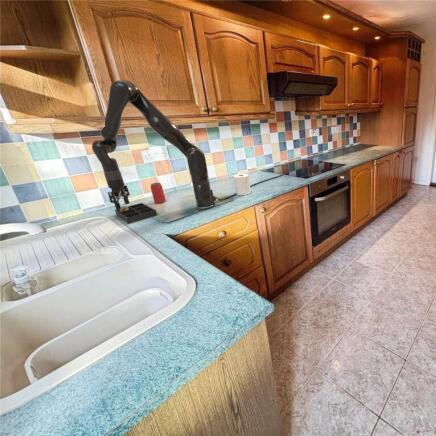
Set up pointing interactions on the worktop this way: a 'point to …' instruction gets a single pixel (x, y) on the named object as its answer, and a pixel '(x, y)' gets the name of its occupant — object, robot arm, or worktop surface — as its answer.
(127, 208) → the token
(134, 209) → the grid
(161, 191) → the beer can
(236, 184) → the toilet paper
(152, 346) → the worktop surface
